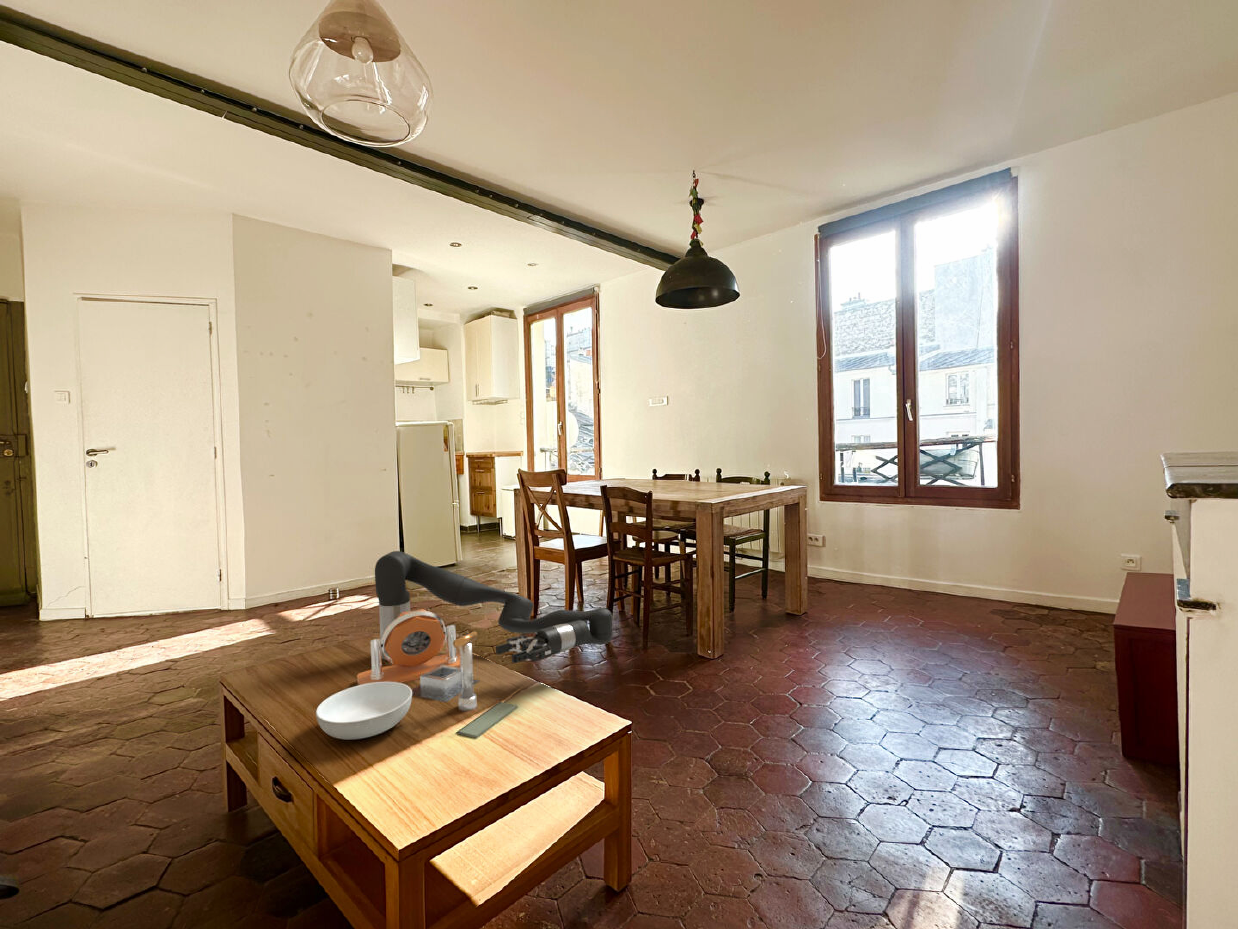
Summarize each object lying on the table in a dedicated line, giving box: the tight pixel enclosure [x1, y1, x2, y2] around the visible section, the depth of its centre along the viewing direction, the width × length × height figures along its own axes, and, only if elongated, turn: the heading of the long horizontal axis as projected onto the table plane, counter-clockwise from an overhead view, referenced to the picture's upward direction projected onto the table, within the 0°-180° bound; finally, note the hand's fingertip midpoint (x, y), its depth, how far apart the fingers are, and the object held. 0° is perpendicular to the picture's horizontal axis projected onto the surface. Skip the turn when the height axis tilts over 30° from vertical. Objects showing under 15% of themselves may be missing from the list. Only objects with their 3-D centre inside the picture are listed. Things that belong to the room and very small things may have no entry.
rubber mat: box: [455, 701, 519, 739], centre depth 139 cm, size 16×16×1 cm
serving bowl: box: [315, 682, 413, 741], centre depth 134 cm, size 21×21×7 cm
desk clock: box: [356, 608, 460, 686], centre depth 165 cm, size 12×30×20 cm, turn 121°
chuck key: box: [453, 630, 479, 712], centre depth 142 cm, size 7×4×18 cm, turn 155°
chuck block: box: [411, 665, 481, 703], centre depth 154 cm, size 14×14×5 cm
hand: (504, 654), depth 148 cm, fingers open, 8 cm apart
